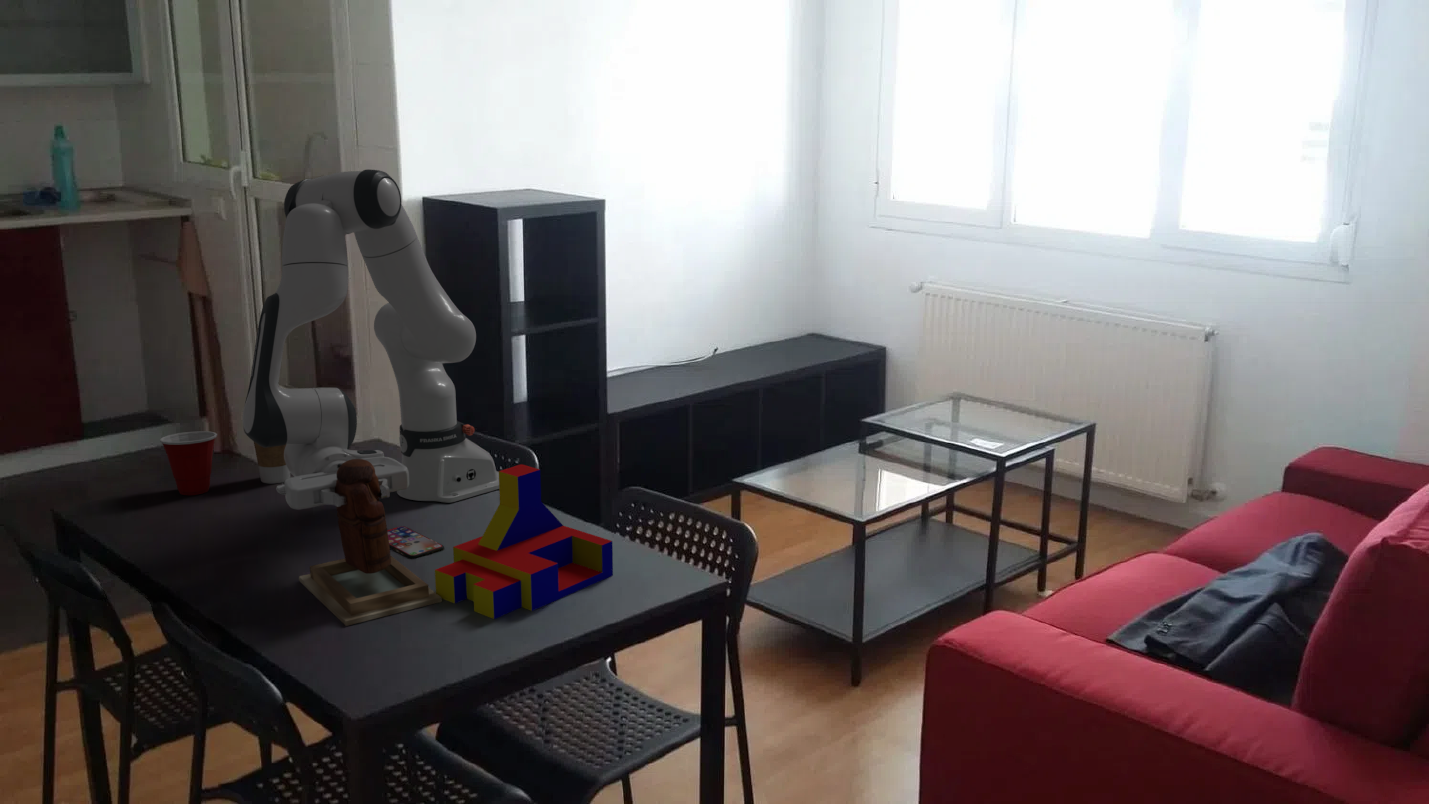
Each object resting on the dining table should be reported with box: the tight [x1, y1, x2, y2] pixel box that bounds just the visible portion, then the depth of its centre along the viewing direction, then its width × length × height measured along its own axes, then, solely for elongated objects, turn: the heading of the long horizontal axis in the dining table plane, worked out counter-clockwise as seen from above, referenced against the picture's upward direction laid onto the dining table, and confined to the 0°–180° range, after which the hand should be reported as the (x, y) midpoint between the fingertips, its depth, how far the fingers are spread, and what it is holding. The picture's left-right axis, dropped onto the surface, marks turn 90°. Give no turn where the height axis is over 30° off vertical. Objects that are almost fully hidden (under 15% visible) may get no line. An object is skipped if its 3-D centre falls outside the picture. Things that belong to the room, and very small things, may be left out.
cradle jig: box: [298, 555, 443, 627], centre depth 208 cm, size 16×22×3 cm
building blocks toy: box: [434, 463, 614, 620], centre depth 209 cm, size 19×25×18 cm
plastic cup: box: [159, 430, 218, 496], centre depth 255 cm, size 11×11×12 cm
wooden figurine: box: [335, 459, 392, 574], centre depth 206 cm, size 12×6×18 cm, turn 38°
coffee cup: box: [253, 441, 291, 485], centre depth 263 cm, size 8×8×15 cm
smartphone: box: [387, 525, 445, 560], centre depth 229 cm, size 7×1×15 cm
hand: (364, 497), depth 203 cm, fingers closed on wooden figurine, 6 cm apart
